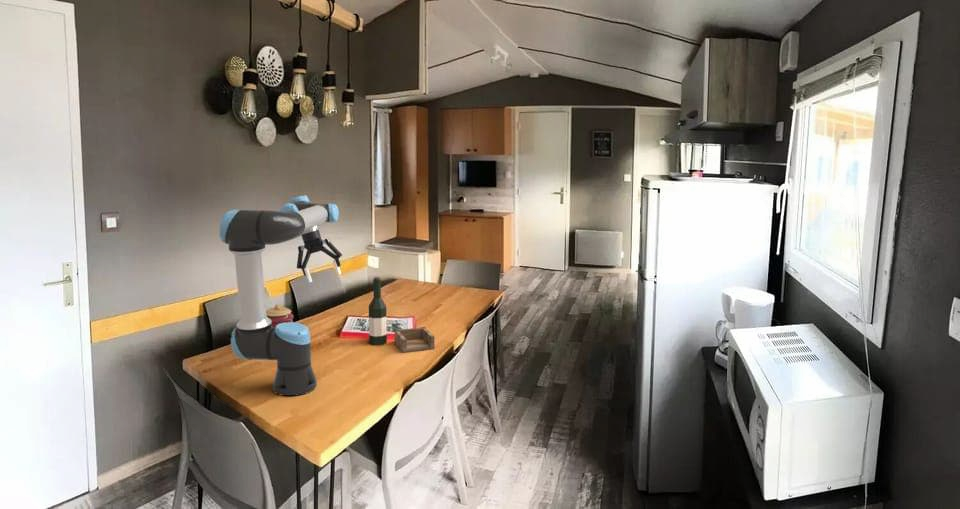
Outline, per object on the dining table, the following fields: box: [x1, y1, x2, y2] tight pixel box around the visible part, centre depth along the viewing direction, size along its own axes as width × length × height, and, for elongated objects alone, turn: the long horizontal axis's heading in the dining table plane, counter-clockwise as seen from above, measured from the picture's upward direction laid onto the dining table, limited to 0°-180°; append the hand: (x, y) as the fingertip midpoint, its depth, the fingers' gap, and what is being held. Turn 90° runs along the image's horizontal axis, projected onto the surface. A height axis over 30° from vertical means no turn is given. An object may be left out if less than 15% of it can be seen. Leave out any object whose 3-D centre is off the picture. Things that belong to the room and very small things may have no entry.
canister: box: [266, 303, 295, 327], centre depth 247 cm, size 13×13×18 cm
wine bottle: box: [368, 276, 388, 346], centre depth 248 cm, size 8×8×30 cm
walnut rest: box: [394, 326, 435, 354], centre depth 247 cm, size 14×14×6 cm
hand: (325, 278), depth 242 cm, fingers open, 13 cm apart
